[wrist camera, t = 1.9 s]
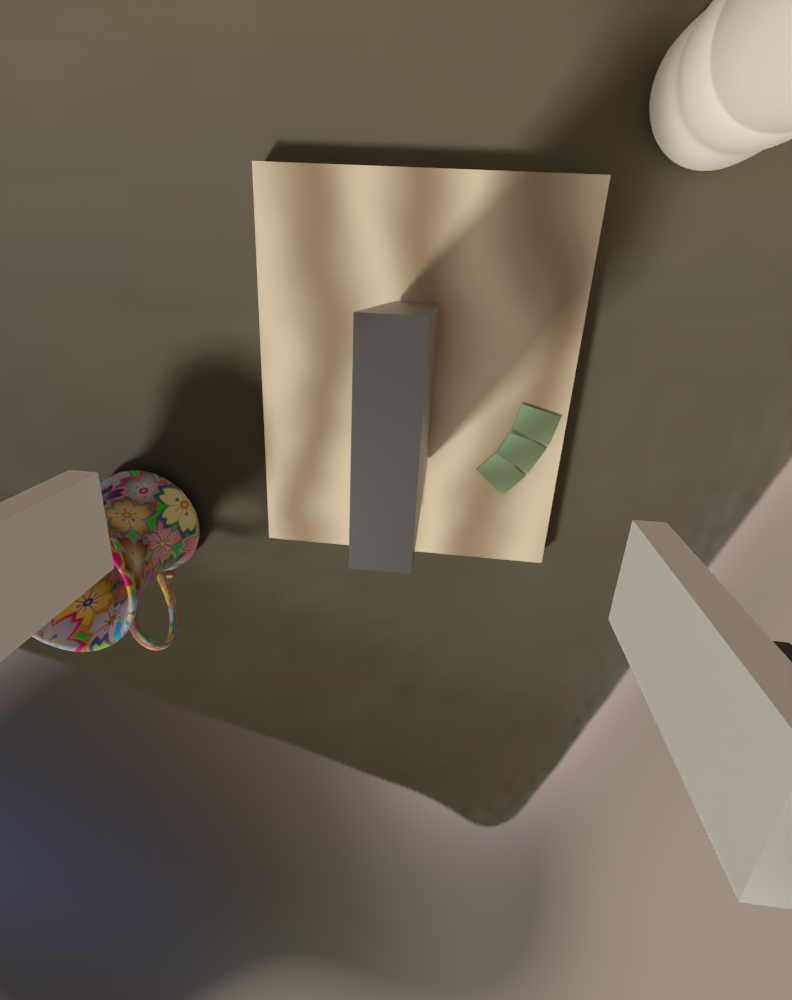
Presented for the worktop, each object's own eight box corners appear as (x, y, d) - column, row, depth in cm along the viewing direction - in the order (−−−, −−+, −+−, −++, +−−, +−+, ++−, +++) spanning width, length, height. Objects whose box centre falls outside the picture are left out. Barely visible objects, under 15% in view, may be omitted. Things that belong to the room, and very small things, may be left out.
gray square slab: (386, 512, 37) (347, 647, 23) (396, 300, 32) (353, 312, 18) (423, 515, 37) (405, 653, 23) (439, 303, 32) (429, 316, 18)
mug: (72, 505, 42) (-45, 573, 32) (146, 437, 39) (42, 487, 29) (181, 611, 44) (104, 703, 35) (257, 554, 42) (197, 637, 32)
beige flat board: (275, 529, 41) (268, 538, 39) (260, 166, 31) (251, 160, 30) (538, 553, 39) (541, 563, 38) (603, 180, 30) (611, 174, 28)
